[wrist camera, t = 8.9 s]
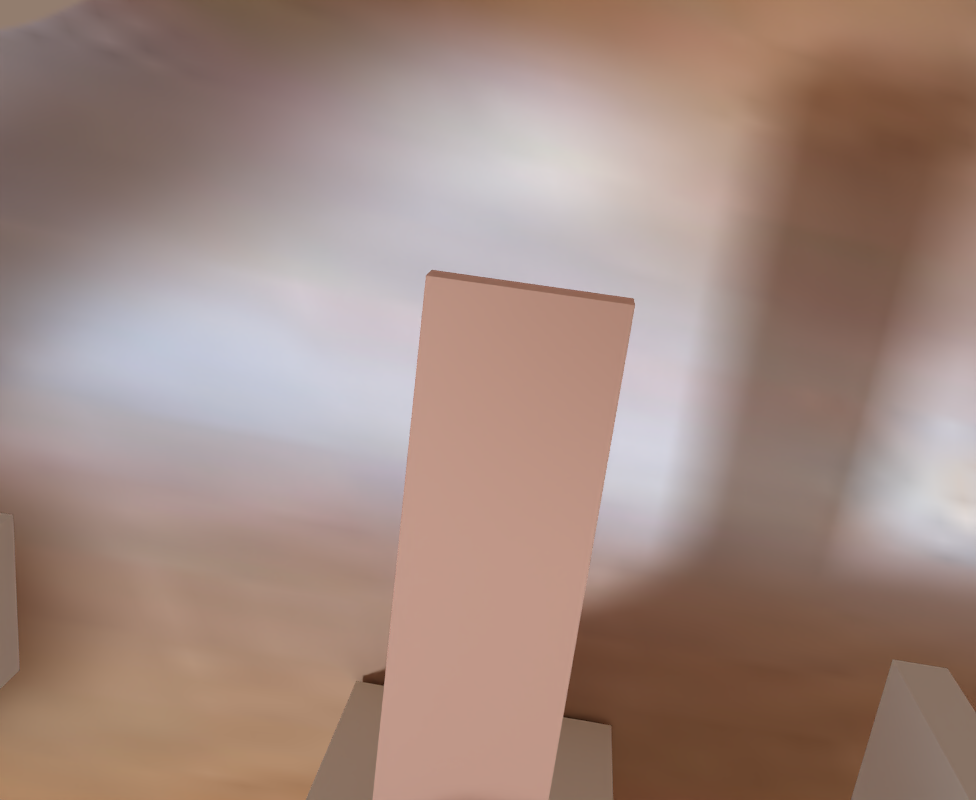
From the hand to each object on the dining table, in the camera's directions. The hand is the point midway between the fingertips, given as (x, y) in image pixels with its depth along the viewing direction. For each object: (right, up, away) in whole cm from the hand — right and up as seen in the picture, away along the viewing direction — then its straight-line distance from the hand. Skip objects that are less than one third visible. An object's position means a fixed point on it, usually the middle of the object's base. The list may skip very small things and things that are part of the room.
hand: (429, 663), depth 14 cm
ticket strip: (+1, -4, +17) cm, 18 cm away
